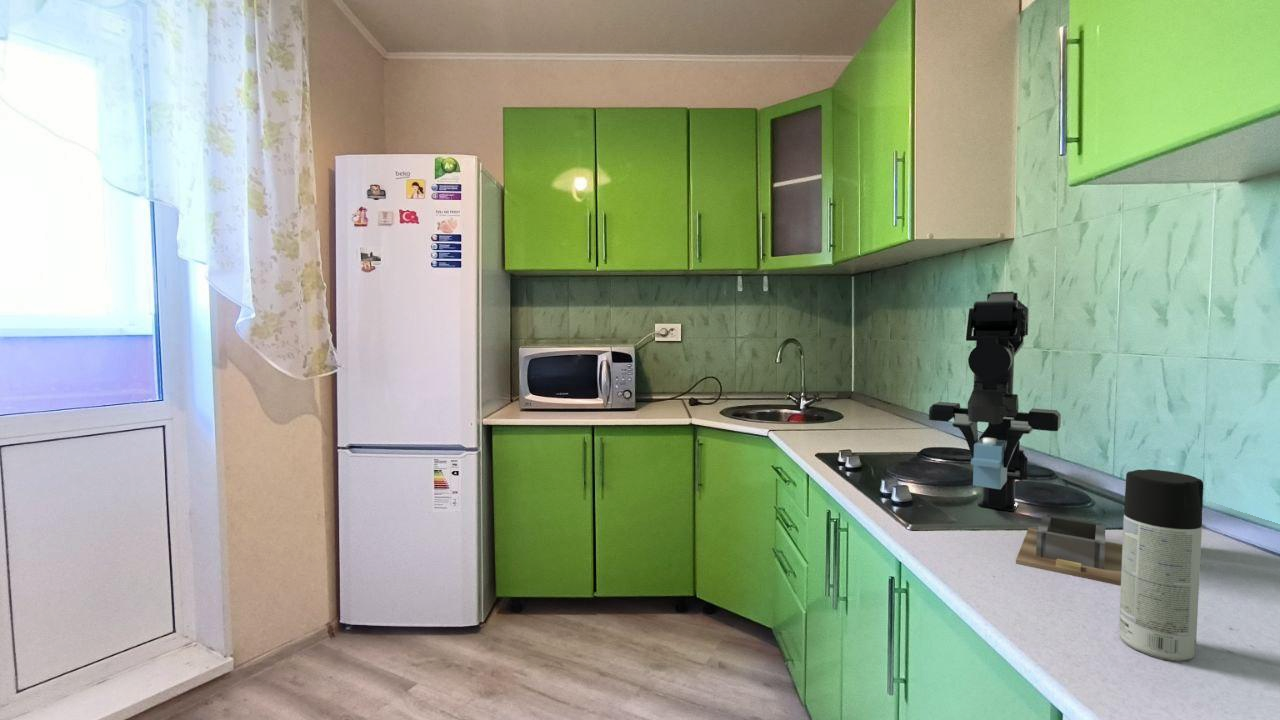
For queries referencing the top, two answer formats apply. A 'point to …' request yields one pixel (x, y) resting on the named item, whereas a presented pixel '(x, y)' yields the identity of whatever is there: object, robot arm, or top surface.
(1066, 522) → the pocket board
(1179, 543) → the spray can
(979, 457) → the servo block
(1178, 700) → the top surface
